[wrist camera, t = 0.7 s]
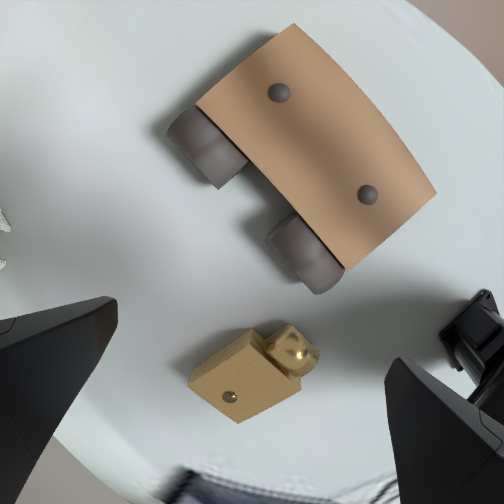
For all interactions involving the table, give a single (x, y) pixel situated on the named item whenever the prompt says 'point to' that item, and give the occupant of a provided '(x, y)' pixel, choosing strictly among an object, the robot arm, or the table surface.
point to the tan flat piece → (307, 154)
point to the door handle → (2, 224)
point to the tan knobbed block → (254, 372)
